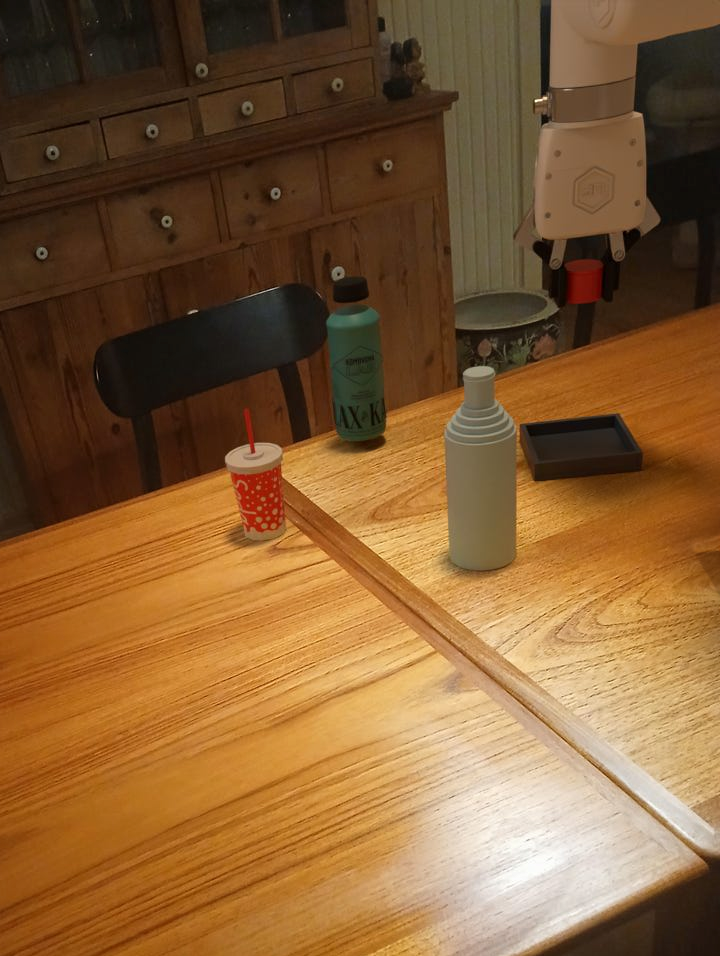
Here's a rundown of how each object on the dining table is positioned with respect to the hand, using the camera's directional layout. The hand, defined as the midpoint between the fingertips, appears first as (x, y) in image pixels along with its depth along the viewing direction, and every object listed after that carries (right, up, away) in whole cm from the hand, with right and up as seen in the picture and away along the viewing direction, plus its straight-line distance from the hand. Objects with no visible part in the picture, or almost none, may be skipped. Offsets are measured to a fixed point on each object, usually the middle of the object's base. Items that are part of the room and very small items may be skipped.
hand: (582, 299), depth 102 cm
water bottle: (-12, -27, -5) cm, 30 cm away
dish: (+3, -14, +9) cm, 17 cm away
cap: (0, 0, 0) cm, 1 cm away
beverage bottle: (-20, -11, +21) cm, 31 cm away
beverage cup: (-33, -23, +6) cm, 41 cm away
